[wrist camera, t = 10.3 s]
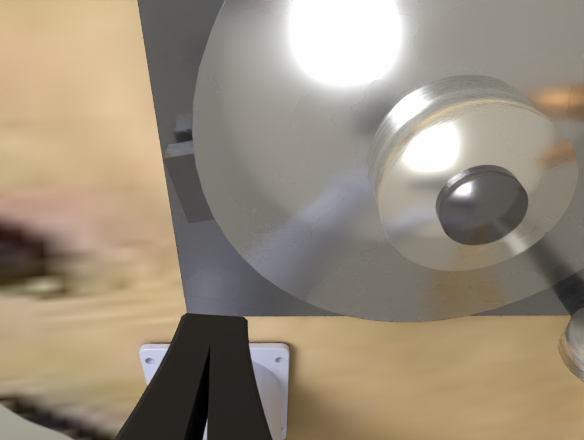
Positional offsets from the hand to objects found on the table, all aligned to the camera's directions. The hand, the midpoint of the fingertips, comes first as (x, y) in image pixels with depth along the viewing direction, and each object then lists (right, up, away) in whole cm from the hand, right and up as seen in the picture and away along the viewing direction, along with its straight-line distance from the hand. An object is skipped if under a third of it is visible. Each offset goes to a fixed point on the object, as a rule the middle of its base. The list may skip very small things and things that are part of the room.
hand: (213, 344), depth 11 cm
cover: (+7, +5, +5) cm, 10 cm away
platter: (+6, +6, +6) cm, 11 cm away
